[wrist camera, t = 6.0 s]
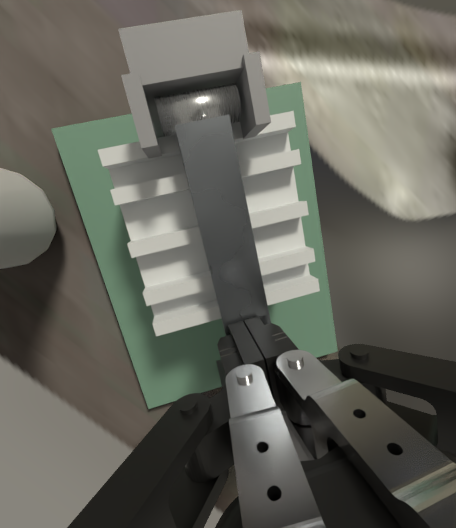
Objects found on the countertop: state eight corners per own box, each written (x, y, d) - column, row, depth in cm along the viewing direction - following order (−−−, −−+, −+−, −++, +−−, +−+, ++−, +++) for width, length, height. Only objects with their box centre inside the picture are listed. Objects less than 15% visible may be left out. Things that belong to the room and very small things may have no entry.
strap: (229, 91, 12) (235, 77, 11) (280, 350, 15) (290, 364, 14) (156, 105, 12) (152, 92, 10) (223, 367, 15) (227, 384, 13)
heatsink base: (293, 86, 19) (392, -19, 10) (330, 344, 24) (419, 428, 15) (58, 130, 18) (-73, 52, 9) (150, 398, 23) (129, 530, 14)
